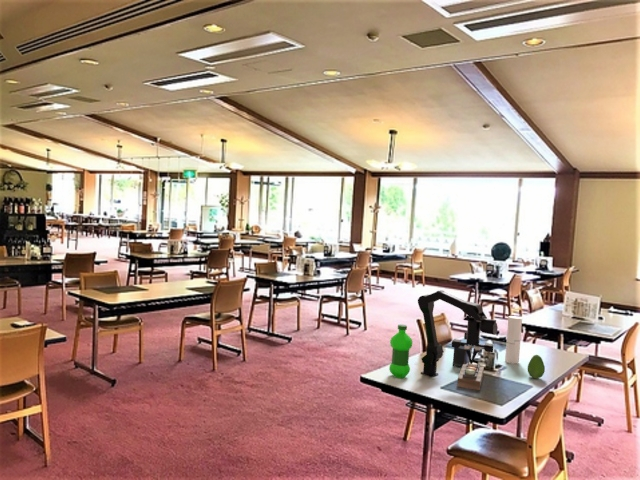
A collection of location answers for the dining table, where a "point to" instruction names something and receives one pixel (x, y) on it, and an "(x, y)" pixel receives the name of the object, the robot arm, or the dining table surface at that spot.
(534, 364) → the avocado
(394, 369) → the plastic bottle
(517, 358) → the cylindrical container
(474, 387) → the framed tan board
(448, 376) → the dining table surface
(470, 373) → the button sage
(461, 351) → the small box
